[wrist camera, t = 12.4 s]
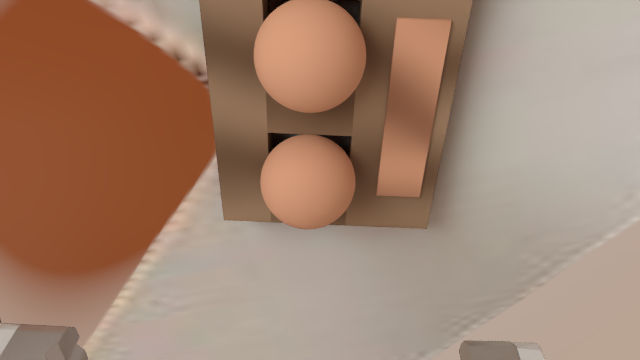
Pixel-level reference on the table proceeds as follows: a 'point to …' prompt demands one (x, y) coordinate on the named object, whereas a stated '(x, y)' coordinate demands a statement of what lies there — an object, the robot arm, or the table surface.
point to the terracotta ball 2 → (307, 181)
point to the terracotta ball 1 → (309, 55)
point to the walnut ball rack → (343, 107)
